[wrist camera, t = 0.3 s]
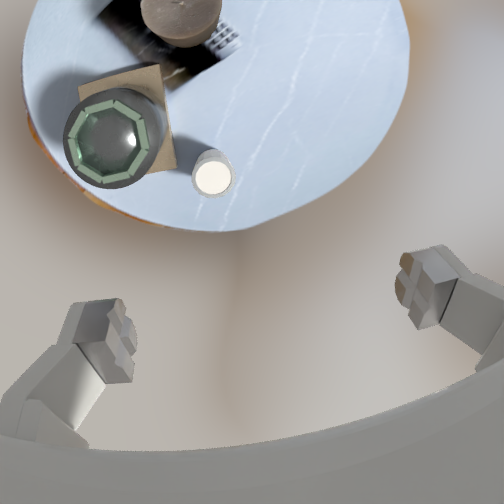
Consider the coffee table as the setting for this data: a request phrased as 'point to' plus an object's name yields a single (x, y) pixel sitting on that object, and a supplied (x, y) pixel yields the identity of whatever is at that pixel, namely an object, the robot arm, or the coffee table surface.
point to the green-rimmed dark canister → (120, 129)
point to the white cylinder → (213, 174)
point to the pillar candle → (182, 20)
